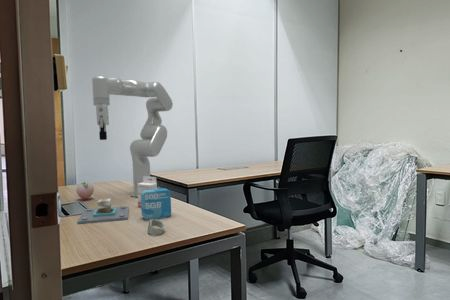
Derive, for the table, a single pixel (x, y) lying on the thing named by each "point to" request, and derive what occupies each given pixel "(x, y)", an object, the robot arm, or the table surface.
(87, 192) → the decorative fruit
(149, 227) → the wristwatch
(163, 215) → the data package
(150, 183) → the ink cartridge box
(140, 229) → the table surface
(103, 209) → the smooth beige block
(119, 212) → the baseplate
